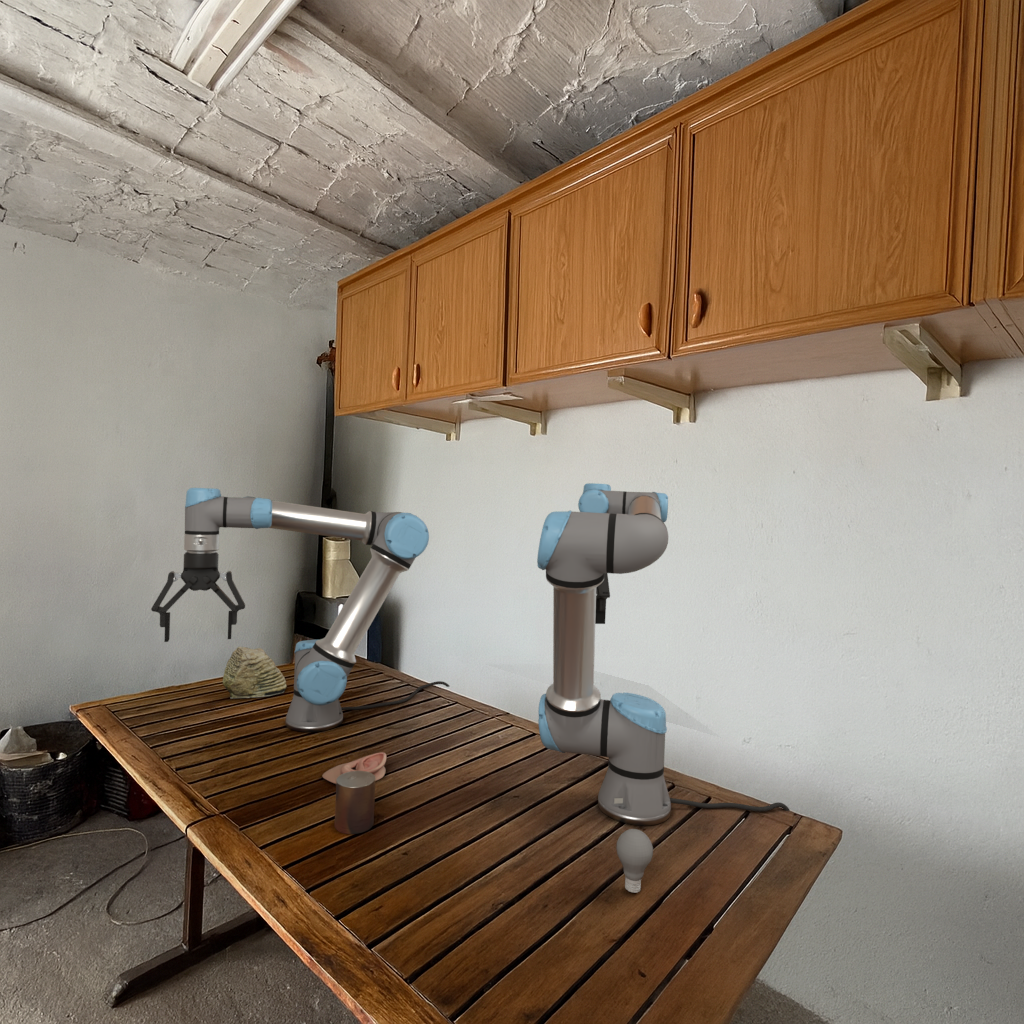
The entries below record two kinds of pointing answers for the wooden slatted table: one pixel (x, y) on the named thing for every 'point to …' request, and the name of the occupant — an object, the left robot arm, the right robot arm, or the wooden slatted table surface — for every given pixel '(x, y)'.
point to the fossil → (252, 674)
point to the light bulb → (634, 857)
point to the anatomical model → (359, 767)
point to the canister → (354, 802)
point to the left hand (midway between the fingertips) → (198, 639)
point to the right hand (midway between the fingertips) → (591, 618)
